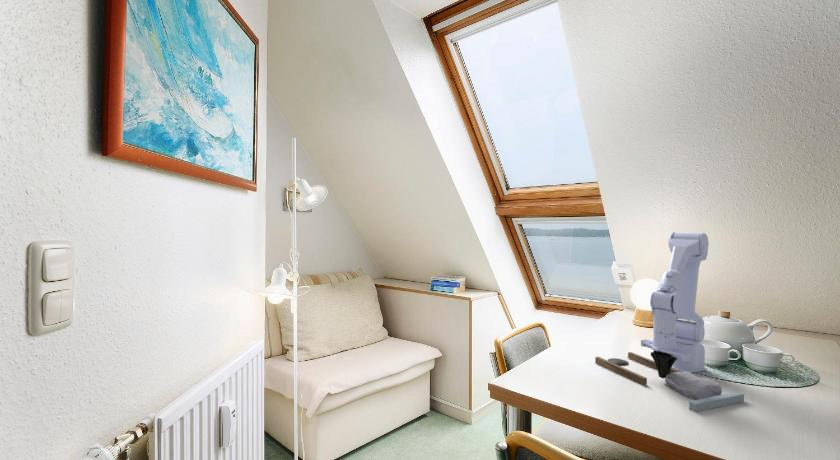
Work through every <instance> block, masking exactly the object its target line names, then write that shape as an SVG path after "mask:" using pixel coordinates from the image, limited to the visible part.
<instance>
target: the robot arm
mask: <svg viewBox="0 0 840 460" xmlns="http://www.w3.org/2000/svg"><path fill="white" fill-rule="evenodd" d="M667 244H668V248H669V251H670V253H671V256H670V261H669V265H668V270H666V271H664V272H663V273H662V275H661V279H660V281H659V284H658V286H657V289H656V291H653V292H652V293H651V295H650V303H649V304H650V305H649V306H650V309H651V316H653V320H652V321H653V326H652V327H653V329H652V330H653V331H652V335H653V336H652V340H650V339H645V338H644V339H641V340H640V347H643V348H645V347H646V348H648V349H651V350H652V352H650V356H651V358H652V359H653V361H654V362H655V364H656V367H657V370H656V371H657V373H658V374H657V375H658V377H659V378H660V379H665V378H666V375H668V374H669V372H670V370H671V368H673V369H676V370H678V371H681V372H691V373H692V374H693V373H698V372H704V371H708V368H706V367H705V365H706V364H705V363H706V362H705V359H706V349H705V346H704V345H703V343H702V342H703V341H704V338H705V335H706V333H705V332H706V331H705V321H704V319H703V317H702V316H700V315H699V314H698V313H696V312H695V311H696V304H697V303H696V302H697V301H696V300H697V299H696V298H697V290H698V282H699V270H700V265H701V262H703V261H706V260H707V257H708V252H709V237H708V235H707V233H705V232H701V233H697V232H694V233H693V232H675V231H674V232H671V233H670V234H669V237H668V243H667ZM692 321H693V322H692Z"/></svg>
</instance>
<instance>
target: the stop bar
mask: <svg viewBox="0 0 840 460" xmlns="http://www.w3.org/2000/svg"><path fill="white" fill-rule="evenodd" d="M743 402H745V393H743V392H740V391H733V392H730V393H729V392H728V393H724V394H723V393H722V394H721V395H718V396H713V397H708V398H703V399H698V400H696V399H694V400H689V401H688V405H689V406H688V407H689V410H690V411H693V412H694V413H695V412H696V413H698V412H701V411H705V410H710V409H715V408H719V407H720V408H721V407H724V406H729V405H733V404H737V403H738V404H740V403H743Z"/></svg>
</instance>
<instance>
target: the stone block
mask: <svg viewBox="0 0 840 460" xmlns="http://www.w3.org/2000/svg"><path fill="white" fill-rule="evenodd" d="M664 382H665V383H666V384H667V385H668V386H670V387H671V388H672V389H674V390H676V391H677V392H678V393H680V394H682V395H683V396H685V397H688V398H690V399H694V400H698V399H703V398H708V397H713V396H718V395H722V394H723V393H722V392H723V390H722V387H721V385H720V383H718V382H717V381H716V380H715V379H711V378H707V377H699V376H697V375H694V374H693V373H691V372H673V373H670V374H668V375H666V378H664Z"/></svg>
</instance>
